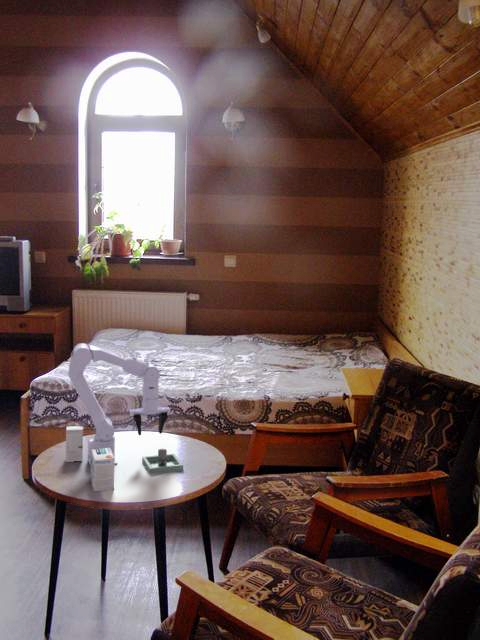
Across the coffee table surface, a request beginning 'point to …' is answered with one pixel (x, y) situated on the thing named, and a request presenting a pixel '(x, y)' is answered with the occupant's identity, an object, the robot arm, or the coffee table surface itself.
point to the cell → (162, 457)
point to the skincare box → (74, 443)
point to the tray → (162, 468)
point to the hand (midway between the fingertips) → (149, 433)
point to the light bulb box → (102, 469)
